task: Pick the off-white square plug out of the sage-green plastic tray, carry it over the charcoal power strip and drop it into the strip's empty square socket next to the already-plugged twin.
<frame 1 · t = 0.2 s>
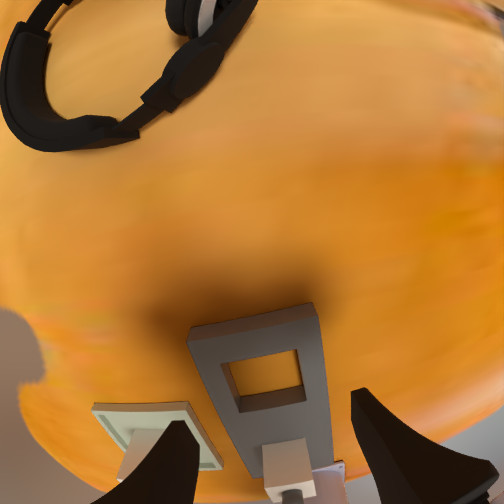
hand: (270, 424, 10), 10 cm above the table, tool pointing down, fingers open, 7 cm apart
plug: (159, 440, 24), resting on tray
tray: (159, 437, 24), on the table
headphones: (127, 36, 15), on the table
power strip: (276, 408, 22), on the table
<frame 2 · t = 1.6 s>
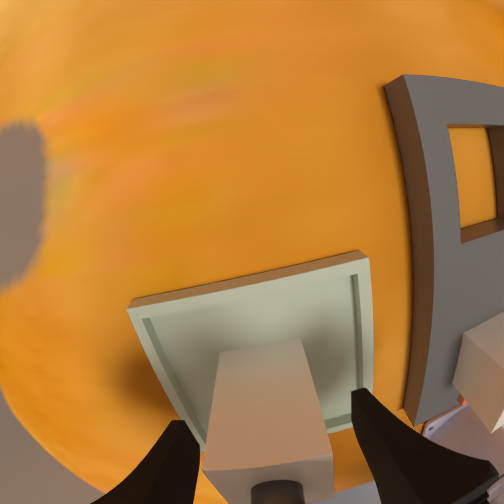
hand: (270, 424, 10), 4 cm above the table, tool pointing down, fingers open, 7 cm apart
plug: (267, 375, 14), resting on tray
tray: (267, 370, 14), on the table
power strip: (471, 263, 13), on the table
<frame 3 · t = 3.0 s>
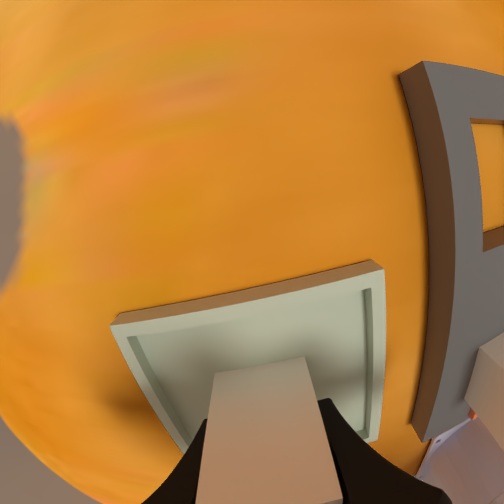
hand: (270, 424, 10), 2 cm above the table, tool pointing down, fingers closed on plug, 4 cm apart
plug: (267, 396, 12), resting on tray, touching gripper
tray: (267, 390, 12), on the table
power strip: (487, 271, 11), on the table
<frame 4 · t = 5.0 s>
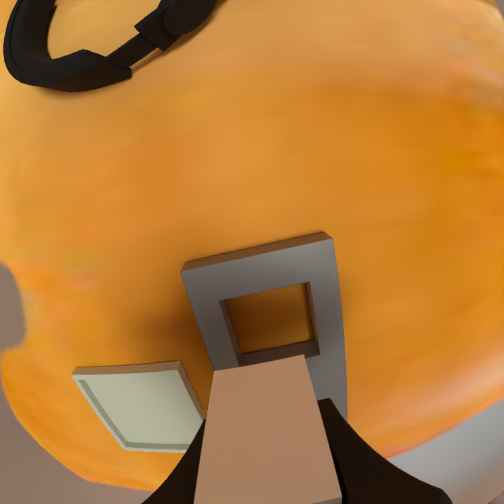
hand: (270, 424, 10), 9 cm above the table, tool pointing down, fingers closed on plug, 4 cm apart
plug: (267, 394, 12), point 7 cm above the table, touching gripper
tray: (147, 410, 22), on the table
power strip: (282, 370, 20), on the table
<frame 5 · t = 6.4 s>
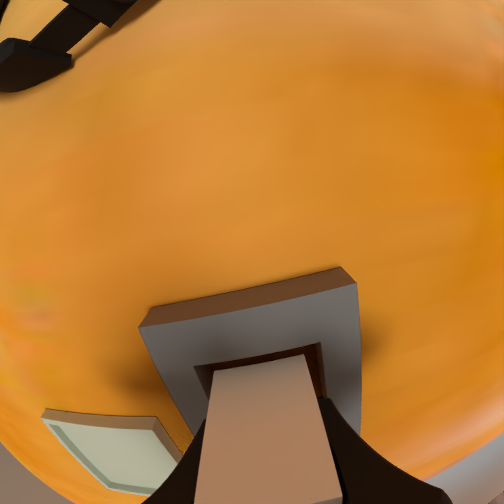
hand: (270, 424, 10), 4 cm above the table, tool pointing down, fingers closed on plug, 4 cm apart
plug: (267, 394, 12), point 2 cm above the table, touching gripper
tray: (127, 458, 16), on the table
power strip: (281, 429, 15), on the table
when the fingers open (3 cm above the table, at t = 7.5 s): plug drops 1 cm, resting in power strip.
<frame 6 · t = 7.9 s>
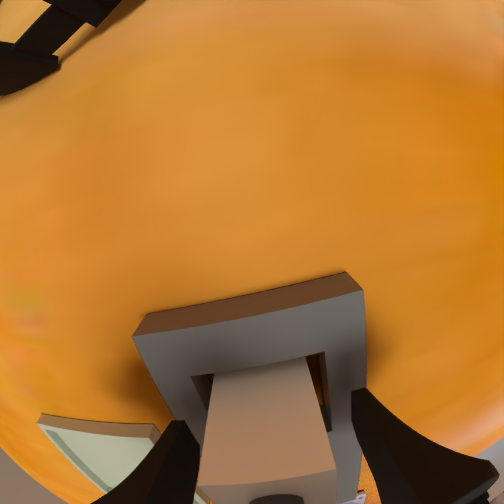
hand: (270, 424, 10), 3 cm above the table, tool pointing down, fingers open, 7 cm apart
plug: (266, 381, 13), resting in power strip
tray: (124, 464, 16), on the table
power strip: (282, 437, 14), on the table
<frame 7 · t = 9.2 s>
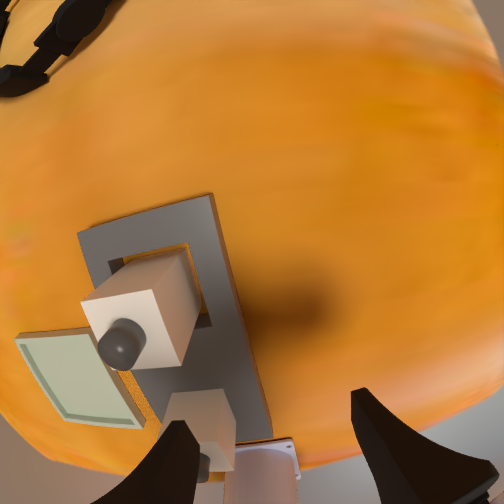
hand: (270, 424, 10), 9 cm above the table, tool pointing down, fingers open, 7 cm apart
plug: (166, 281, 18), resting in power strip
tray: (77, 379, 21), on the table
headphones: (58, 7, 12), on the table
power strip: (188, 344, 20), on the table
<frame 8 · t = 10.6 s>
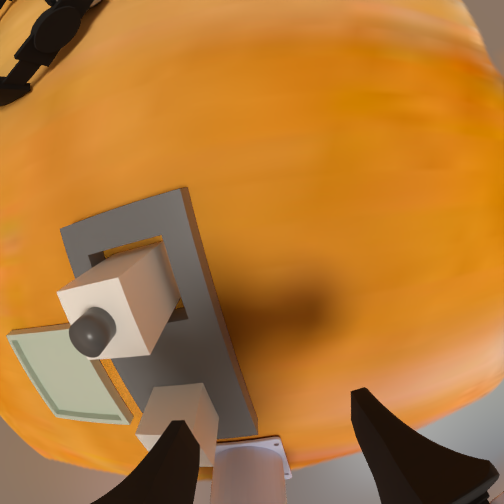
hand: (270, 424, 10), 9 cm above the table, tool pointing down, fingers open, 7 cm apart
plug: (146, 275, 18), resting in power strip
tray: (66, 375, 21), on the table
headphones: (42, 18, 13), on the table
power strip: (169, 338, 20), on the table
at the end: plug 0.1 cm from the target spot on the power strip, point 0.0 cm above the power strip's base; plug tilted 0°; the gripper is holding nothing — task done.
